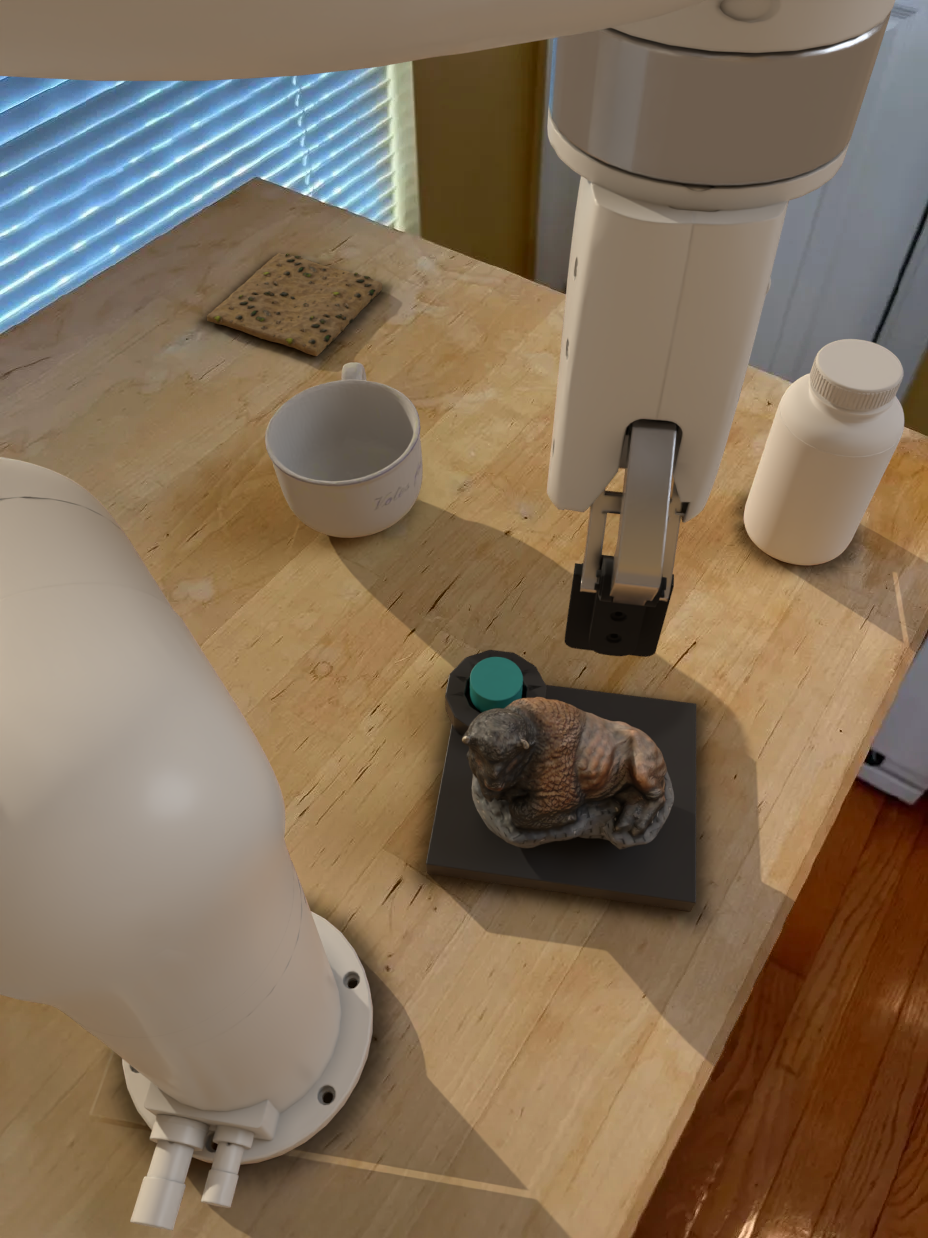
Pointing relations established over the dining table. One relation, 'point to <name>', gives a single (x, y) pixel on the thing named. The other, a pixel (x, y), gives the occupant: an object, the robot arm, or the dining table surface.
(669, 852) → the scale
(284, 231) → the dining table surface
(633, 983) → the dining table surface
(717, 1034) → the dining table surface
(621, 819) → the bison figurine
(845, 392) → the pill bottle
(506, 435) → the dining table surface
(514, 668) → the button
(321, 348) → the cookie
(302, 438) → the teacup
